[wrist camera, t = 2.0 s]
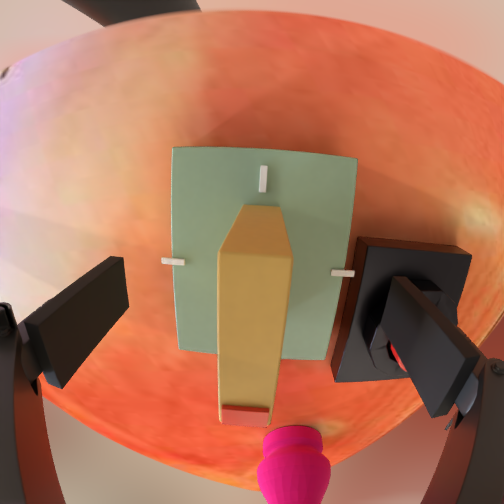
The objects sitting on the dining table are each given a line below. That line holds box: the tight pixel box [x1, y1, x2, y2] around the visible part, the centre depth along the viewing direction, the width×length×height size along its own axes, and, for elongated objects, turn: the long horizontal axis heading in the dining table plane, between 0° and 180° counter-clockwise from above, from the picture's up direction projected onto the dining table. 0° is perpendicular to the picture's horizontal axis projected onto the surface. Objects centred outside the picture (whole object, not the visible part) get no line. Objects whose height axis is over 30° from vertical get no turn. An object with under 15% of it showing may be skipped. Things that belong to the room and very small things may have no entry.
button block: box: [331, 237, 472, 382], centre depth 18 cm, size 11×9×4 cm
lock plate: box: [161, 147, 358, 360], centre depth 17 cm, size 13×11×3 cm
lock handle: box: [217, 204, 294, 428], centre depth 12 cm, size 7×2×8 cm, turn 177°
